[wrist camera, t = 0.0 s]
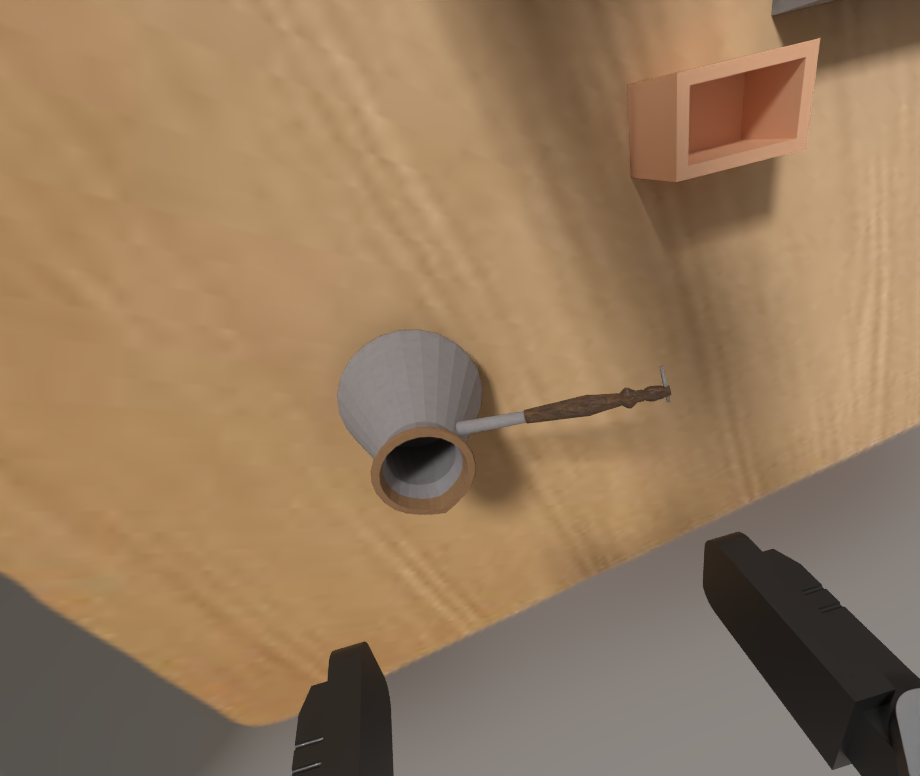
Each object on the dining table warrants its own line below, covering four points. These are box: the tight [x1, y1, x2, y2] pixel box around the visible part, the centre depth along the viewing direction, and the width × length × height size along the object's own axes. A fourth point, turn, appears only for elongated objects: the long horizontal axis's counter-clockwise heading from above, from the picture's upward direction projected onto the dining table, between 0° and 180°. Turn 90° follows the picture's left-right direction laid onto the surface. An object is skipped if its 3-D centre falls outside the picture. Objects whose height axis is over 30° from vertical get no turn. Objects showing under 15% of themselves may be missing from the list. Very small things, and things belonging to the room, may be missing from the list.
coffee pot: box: [337, 330, 671, 515], centre depth 33 cm, size 21×12×15 cm, turn 111°
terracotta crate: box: [628, 38, 820, 182], centre depth 32 cm, size 6×9×6 cm, turn 102°
